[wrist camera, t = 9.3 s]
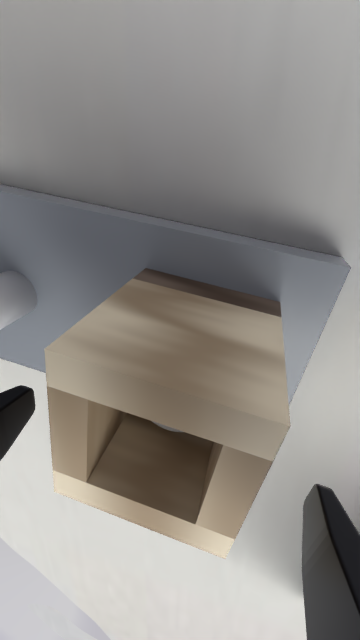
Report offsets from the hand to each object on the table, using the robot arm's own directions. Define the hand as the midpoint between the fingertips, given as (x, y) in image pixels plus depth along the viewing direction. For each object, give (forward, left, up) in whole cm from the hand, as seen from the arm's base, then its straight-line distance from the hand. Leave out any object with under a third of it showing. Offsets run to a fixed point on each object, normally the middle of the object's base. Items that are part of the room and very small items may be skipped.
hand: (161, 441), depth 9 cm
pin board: (-5, 0, -8) cm, 9 cm away
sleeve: (0, 0, -6) cm, 6 cm away
